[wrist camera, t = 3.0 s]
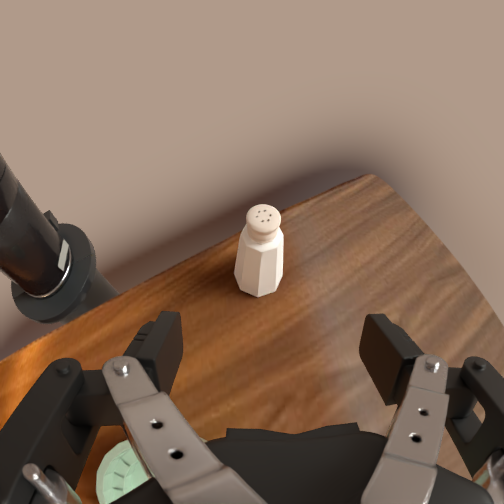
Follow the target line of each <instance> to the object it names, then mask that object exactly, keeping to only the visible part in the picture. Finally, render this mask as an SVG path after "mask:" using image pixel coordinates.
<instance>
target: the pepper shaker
mask: <svg viewBox="0 0 504 504" xmlns="http://www.w3.org/2000/svg"><path fill="white" fill-rule="evenodd" d="M246 221H247V224H246V225H245V227H244V229H243V231H242V232H241V235H240V240H239V246H238V252H237V258H236V264H235V270H234V275H235V278H236V280H237V283H238V285H239V288H240V290H242V291H244V292H247V293H249V294H251V295H253V296H256V297H260V296H263V295H266V294H269V293H272V292H274V291H276V289H277V287H278V284H279V282H280V280H281V278H282V276H283V234H282V232H281V230H280V228H279V225H280V222H281V216H280V214H279V212H278V211H277V210H276V209H275V208H274V207H272V206H269V205H265V204H260V205H256V206H254V207H252V208H251V209H250V210H249V211H248V213H247V216H246Z"/></svg>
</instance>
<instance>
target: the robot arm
mask: <svg viewBox="0 0 504 504" xmlns="http://www.w3.org/2000/svg"><path fill="white" fill-rule="evenodd" d="M58 230H59V226H58V221H57V219H56V218H55V217H54V216H53V214H52V213H51V211H50V210H49V211H47V212H45V213H44V214H42V212H41V211H40V210H39V209H38V207H37V206H36V204H35V203H34V202H33V200H32V199H31V198H30V196H29V195H28V194H27V192H26V191H25V190H24V188H23V187H22V185H21V184H20V182H19V181H18V179H17V178H16V177H15V175H14V174H13V172H12V171H11V169H10V168H9V166H8V165H7V163H6V161H5V160H4V158H3V157H2V155H1V154H0V272H2V273H3V274H4V275H5V276H7V277H8V278H9V279H10V280H12V281H13V282H14V283H15V284H17V285H18V286H19V287H21V288H22V289H23V290H25V292H26V293H27V294H29V295H30V296H32V297H33V298H35V299H39V300H42V299H47V298H50V297H52V296H54V295H55V294H56V293H58V292H59V291H60V290H61V289H62V288H63V286H64V285H65V284H66V282H67V280H68V278H69V276H70V274H71V271H72V267H73V253H72V250H71V248H70V246H69V245H68V244H67V242H66V241H65V240H64V239H62V238H61V236H60V235H59V234H58V233H57V231H58ZM359 354H360V358H361V360H362V362H363V363H364V365H365V367H366V369H367V371H368V373H369V374H370V376H371V378H372V380H373V382H374V384H375V386H376V388H377V389H378V391H379V393H380V395H381V397H382V399H383V401H384V403H385V405H386V406H387V405H393V404H397V405H398V407H397V409H396V412H395V414H394V417H393V419H392V421H391V424H390V426H389V429H388V431H387V433H386V435H385V436H382V435H379V434H376V433H372V432H366V431H360V430H359V427H358V425H357V422H356V423H348V424H340V425H331V426H325V427H321V428H318V429H314V430H311V431H307V432H303V433H300V434H287V433H281V432H274V431H268V430H263V429H235V428H227V431H226V437H224V438H218V439H214V440H210V441H207V442H205V443H204V442H203V441H202V440H201V438H200V437H199V436H198V435H197V433H196V432H195V431H194V430H193V428H192V427H191V426H190V425H189V423H188V422H187V421H186V419H185V418H184V417H183V416H182V414H181V413H180V412H179V410H178V409H177V407H176V406H175V405H174V403H173V402H172V401H171V399H170V398H169V394H170V391H171V388H172V385H173V382H174V379H175V376H176V373H177V371H178V368H179V365H180V362H181V359H182V355H183V338H182V327H181V316H180V313H179V312H169V311H162V312H161V313H160V315H159V316H158V318H157V320H156V321H155V322H153V321H149V322H148V323H146V324H145V325H143V326H142V327H141V328H140V330H139V331H138V333H137V335H136V336H135V337H134V340H132V342H131V343H130V345H129V346H128V348H127V350H126V351H125V353H124V354H123V356H119V357H114V358H112V359H110V360H108V361H107V362H105V364H104V365H103V367H102V370H82V368H81V364H80V363H79V362H78V361H77V360H75V359H72V358H62V359H58V360H55V361H54V362H52V363H51V364H50V365H49V366H48V367H47V368H46V369H45V371H44V372H43V373H42V374H41V376H40V377H39V378H38V380H37V381H36V382H35V384H34V385H33V386H32V387H31V389H30V390H29V391H28V393H27V394H26V395H25V397H24V398H23V400H22V401H21V402H20V404H19V405H18V406H17V408H16V409H15V411H14V412H13V413H12V415H11V416H10V418H9V419H8V421H7V422H6V423H5V425H4V426H3V428H2V429H1V431H0V504H82V502H81V500H80V498H79V496H78V495H77V494H76V493H75V489H76V487H77V484H78V481H79V479H80V476H81V473H82V471H83V468H84V466H85V463H86V460H87V458H88V455H89V453H90V450H91V448H92V445H93V443H94V441H95V438H96V436H97V433H98V431H99V429H100V426H111V425H121V427H122V429H123V431H124V433H125V435H126V437H127V439H128V441H129V443H130V445H131V447H132V449H133V451H134V453H135V455H136V457H137V459H138V461H139V463H140V465H141V467H142V469H143V471H144V472H145V474H146V476H147V478H148V480H147V481H145V482H144V483H142V484H141V485H139V486H138V487H136V488H134V489H133V490H131V491H130V492H128V493H126V494H125V495H123V496H121V497H120V498H118V499H116V500H115V501H113V502H111V503H109V504H504V378H503V377H502V376H501V375H500V374H499V373H498V372H497V370H496V369H495V368H494V367H493V366H492V365H491V364H490V363H489V362H488V361H486V360H485V359H483V358H480V357H468V358H467V359H466V360H465V361H464V364H463V366H462V368H450V367H448V365H447V363H446V362H445V361H444V360H443V359H442V358H440V357H438V356H435V355H431V354H424V353H423V352H422V351H421V349H420V348H419V347H418V346H417V345H416V344H415V342H414V341H412V339H411V338H410V337H409V336H408V334H407V333H406V332H405V331H404V330H403V329H402V328H401V327H399V326H397V325H396V324H394V323H393V324H392V322H391V321H390V320H389V319H388V318H387V317H386V315H385V314H368V315H367V316H366V318H365V322H364V327H363V331H362V336H361V340H360V345H359ZM477 401H479V403H480V404H481V405H482V407H483V408H484V410H485V420H484V422H483V423H481V422H480V420H479V419H478V417H477V416H476V414H475V413H474V411H473V408H474V407H475V405H476V403H477ZM444 426H445V427H446V429H447V431H448V433H449V434H450V436H451V438H452V440H453V442H454V444H455V445H456V447H457V449H458V451H459V453H460V455H461V457H462V459H463V461H464V463H465V465H466V467H467V469H468V471H469V473H470V475H471V477H472V481H470V480H468V479H466V478H464V477H462V476H459V475H457V474H455V473H453V472H451V471H449V470H447V469H445V468H443V467H441V466H439V465H437V464H436V462H437V458H438V454H439V450H440V445H441V441H442V436H443V431H444Z"/></svg>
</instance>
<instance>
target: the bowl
mask: <svg viewBox="0 0 504 504" xmlns="http://www.w3.org/2000/svg"><path fill="white" fill-rule="evenodd" d="M201 440H202V441H203V442H204V443H205V442H207V440H204V439H202V438H201ZM147 480H148V478H147V476H146V474H145V472H144V471H143V469H142V467H141V465H140V463H139V461H138V459H137V457H136V455H135V453H134V451H133V449H132V447H131V445H130V443H129V441H128V440H125V441H123V442H120V443H118V444H117V445H116V446H115V447H114V448H112V449H111V450H110V451H109V452H108V453H107V454H106V455H105V456H104V458H103V460H102V462H101V464H100V466H99V468H98V470H97V478H96V493H97V497H98V500H99V503H100V504H109V503H111V502H113V501H115V500H116V499H118V498H120V497H121V496H123V495H125V494H126V493H128V492H130V491H131V490H133V489H134V488H136V487H138V486H139V485H141V484H142V483H144V482H145V481H147Z"/></svg>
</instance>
